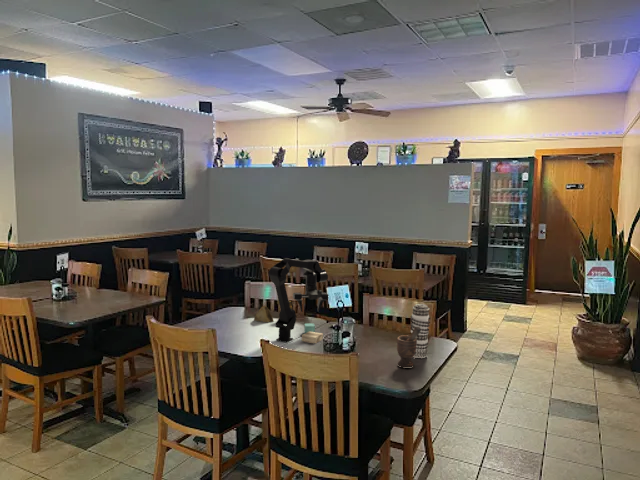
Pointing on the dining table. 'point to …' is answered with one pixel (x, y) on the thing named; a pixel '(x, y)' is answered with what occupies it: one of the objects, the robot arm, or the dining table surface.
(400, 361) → the mortar and pestle
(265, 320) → the rock
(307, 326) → the teal cube
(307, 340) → the beech block
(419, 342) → the decorative candle
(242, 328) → the dining table surface
